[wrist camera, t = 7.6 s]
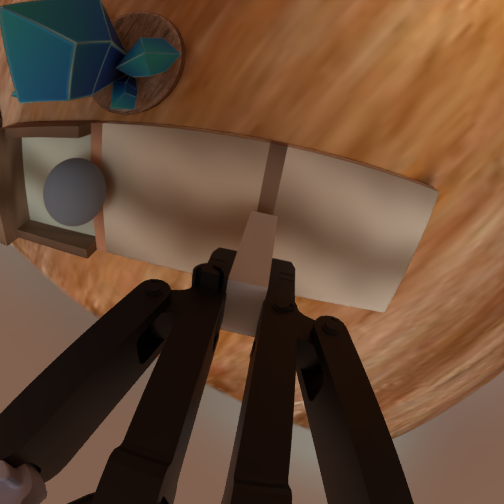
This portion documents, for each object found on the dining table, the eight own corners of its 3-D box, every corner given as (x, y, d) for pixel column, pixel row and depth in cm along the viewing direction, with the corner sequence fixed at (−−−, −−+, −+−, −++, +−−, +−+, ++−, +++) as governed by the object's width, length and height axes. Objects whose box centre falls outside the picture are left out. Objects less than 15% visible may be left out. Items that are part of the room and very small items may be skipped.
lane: (17, 122, 17) (-16, 134, 14) (433, 186, 16) (461, 210, 13) (27, 223, 22) (0, 243, 19) (381, 304, 21) (392, 340, 18)
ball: (115, 149, 17) (59, 145, 16) (89, 182, 14) (26, 176, 13) (115, 205, 20) (64, 198, 19) (95, 245, 17) (38, 235, 16)
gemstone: (119, -4, 12) (-20, -36, 2) (215, 47, 14) (90, -9, 4) (68, 83, 15) (-71, 116, 5) (150, 140, 17) (7, 215, 7)
